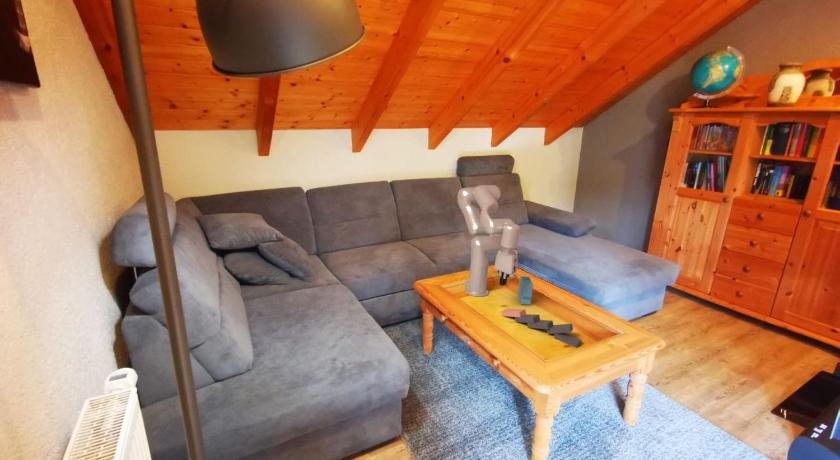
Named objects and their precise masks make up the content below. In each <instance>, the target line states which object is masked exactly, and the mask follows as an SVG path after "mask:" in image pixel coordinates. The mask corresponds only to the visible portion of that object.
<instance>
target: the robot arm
mask: <svg viewBox="0 0 840 460" xmlns="http://www.w3.org/2000/svg"><path fill="white" fill-rule="evenodd" d="M501 193H502V192H501V190H500V188H499V187H498V186H497V185H493V184H481V185H477V186H475V187H473V186H471V187H469V186H468V187H462V188H460V189H459V190H458V192H457V204H458V207H459V209H460V211H461V213H462V214H463V217H464V219H465V223H466V227H467V230H468V232H469V234H470V235H471V236H473V238H472V239H471V241H470V267H469V277H468V280H467V279H465V280H464V281H463V285H465V286H466V287H465V289H464V291H465V293H466V294H467V295H470V296H473V297H482V298H483V297H486V296H488V295H489V290H488V289H487V282H488V272H489V265H490V264H489V259H488V257H487V254H489V255H490V254H496V257H495V261H494V271H496V272H497V273H498V276H499V286H501V287H503V286H505V285H507V281H508V278H514V277H515V274H516V273H517V271H518V262H519V259H518V257H519V256H518V254H519V250H518V243H519V237H520V231H521V227H520V226H519V224H517V223H515V222H514V221H513V220H512V219H510V218H491V216H490V215H492V214H494V213H495V212H496V211H497V210H498V208H499V203H498V201H499V200H500V199H501V195H502V194H501ZM472 203H473V204H472ZM475 203H477V205H478V206H479V207H480V209H481V212H480V211H479V209H478V208H477V207H476V206H475V205H474V204H475Z"/></svg>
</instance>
